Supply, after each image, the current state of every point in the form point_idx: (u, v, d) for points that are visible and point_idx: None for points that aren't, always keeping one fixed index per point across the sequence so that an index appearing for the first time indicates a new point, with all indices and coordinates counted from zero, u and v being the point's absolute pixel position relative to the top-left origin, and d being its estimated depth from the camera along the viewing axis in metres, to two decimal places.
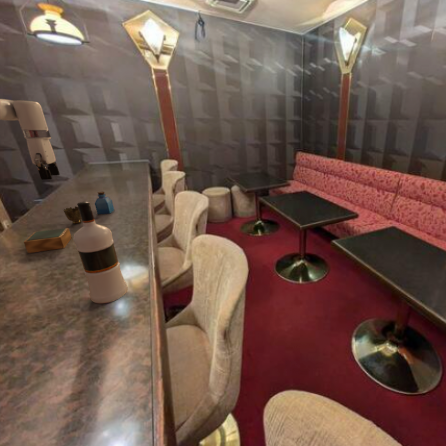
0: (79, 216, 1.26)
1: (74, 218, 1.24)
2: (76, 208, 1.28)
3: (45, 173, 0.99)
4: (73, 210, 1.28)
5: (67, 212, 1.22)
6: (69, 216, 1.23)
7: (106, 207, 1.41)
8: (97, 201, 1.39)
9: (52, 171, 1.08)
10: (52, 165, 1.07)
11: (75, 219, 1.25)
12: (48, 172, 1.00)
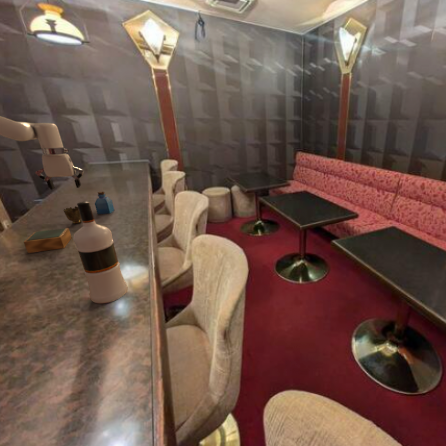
0: (79, 216, 1.26)
1: (74, 218, 1.24)
2: (76, 208, 1.28)
3: None
4: (73, 210, 1.28)
5: (67, 212, 1.22)
6: (69, 216, 1.23)
7: (106, 207, 1.41)
8: (97, 201, 1.39)
9: None
10: None
11: (75, 219, 1.25)
12: None
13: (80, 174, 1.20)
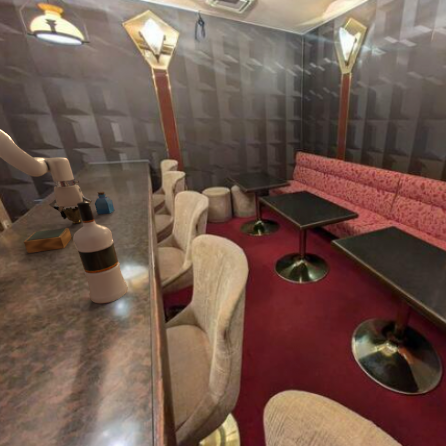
0: (79, 216, 1.26)
1: (74, 218, 1.24)
2: (76, 208, 1.28)
3: (61, 214, 1.23)
4: (73, 210, 1.28)
5: (67, 212, 1.22)
6: (69, 216, 1.23)
7: (106, 207, 1.41)
8: (97, 201, 1.39)
9: None
10: None
11: (75, 219, 1.25)
12: (62, 213, 1.23)
13: None
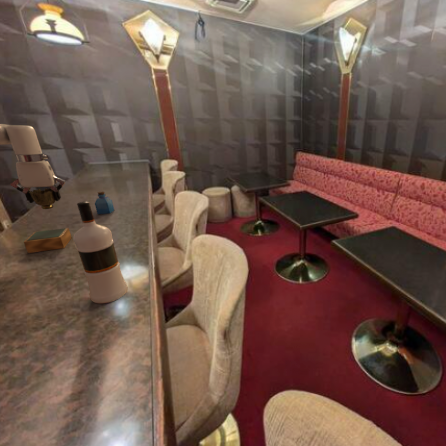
0: (49, 200, 1.03)
1: (43, 202, 1.02)
2: (46, 190, 1.06)
3: None
4: (42, 193, 1.05)
5: (34, 194, 0.99)
6: (36, 199, 1.00)
7: (106, 207, 1.41)
8: (97, 201, 1.39)
9: None
10: (54, 190, 1.04)
11: (44, 203, 1.02)
12: None
13: (60, 185, 1.04)
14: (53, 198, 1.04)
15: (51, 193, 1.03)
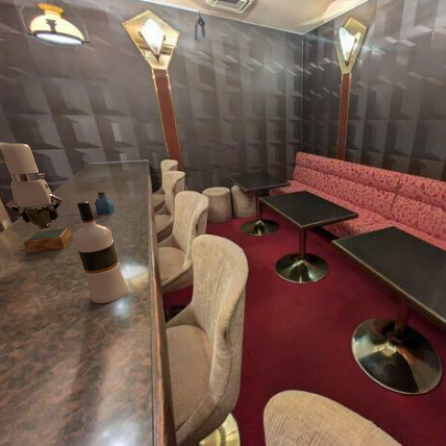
0: (46, 219, 0.99)
1: (39, 222, 0.98)
2: (43, 209, 1.02)
3: None
4: (39, 211, 1.02)
5: (30, 214, 0.96)
6: (33, 219, 0.97)
7: (106, 207, 1.41)
8: (97, 201, 1.39)
9: None
10: None
11: (41, 223, 0.99)
12: None
13: (57, 204, 1.01)
14: (50, 217, 1.01)
15: (48, 212, 0.99)
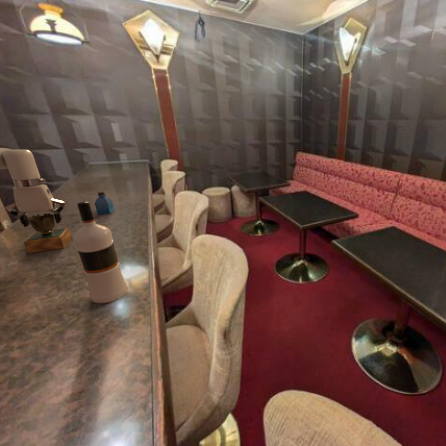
0: (48, 226, 1.00)
1: (42, 228, 0.99)
2: (46, 215, 1.03)
3: None
4: (42, 218, 1.03)
5: (32, 221, 0.97)
6: (35, 226, 0.98)
7: (106, 207, 1.41)
8: (97, 201, 1.39)
9: None
10: None
11: (43, 229, 1.00)
12: None
13: (61, 207, 1.01)
14: (52, 224, 1.02)
15: (50, 219, 1.00)
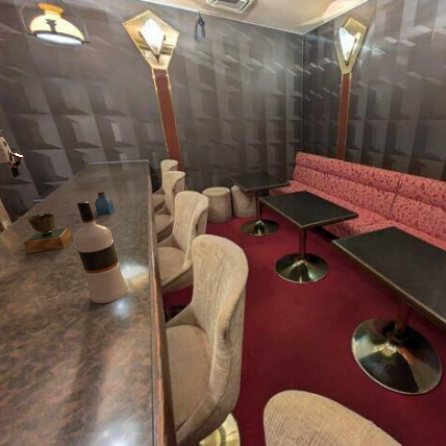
0: (48, 226, 1.00)
1: (42, 228, 0.99)
2: (46, 215, 1.03)
3: None
4: (42, 218, 1.03)
5: (32, 221, 0.97)
6: (35, 226, 0.98)
7: (106, 207, 1.41)
8: (97, 201, 1.39)
9: None
10: None
11: (43, 229, 1.00)
12: None
13: (18, 161, 1.01)
14: (52, 224, 1.02)
15: (50, 219, 1.00)
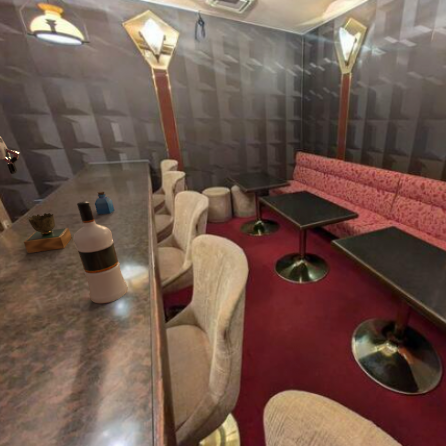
0: (48, 226, 1.00)
1: (42, 228, 0.99)
2: (46, 215, 1.03)
3: None
4: (42, 218, 1.03)
5: (32, 221, 0.97)
6: (35, 226, 0.98)
7: (106, 207, 1.41)
8: (97, 201, 1.39)
9: None
10: None
11: (43, 229, 1.00)
12: None
13: (15, 157, 1.01)
14: (52, 224, 1.02)
15: (50, 219, 1.00)
